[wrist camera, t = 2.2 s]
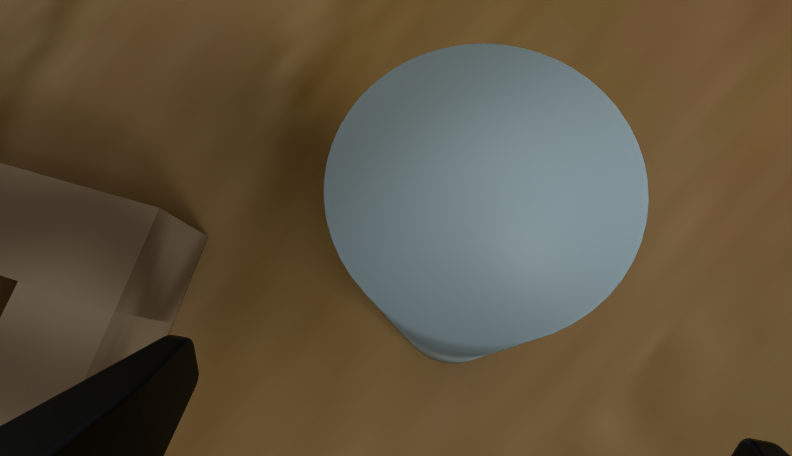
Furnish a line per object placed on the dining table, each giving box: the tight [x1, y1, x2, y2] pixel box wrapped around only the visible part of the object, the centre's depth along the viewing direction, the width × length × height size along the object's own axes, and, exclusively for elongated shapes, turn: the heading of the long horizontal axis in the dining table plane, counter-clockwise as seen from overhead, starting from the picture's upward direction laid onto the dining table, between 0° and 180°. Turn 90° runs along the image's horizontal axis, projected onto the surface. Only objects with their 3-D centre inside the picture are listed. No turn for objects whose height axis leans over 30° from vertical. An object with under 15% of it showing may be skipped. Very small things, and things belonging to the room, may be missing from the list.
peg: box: [324, 44, 649, 363], centre depth 14 cm, size 4×4×14 cm
